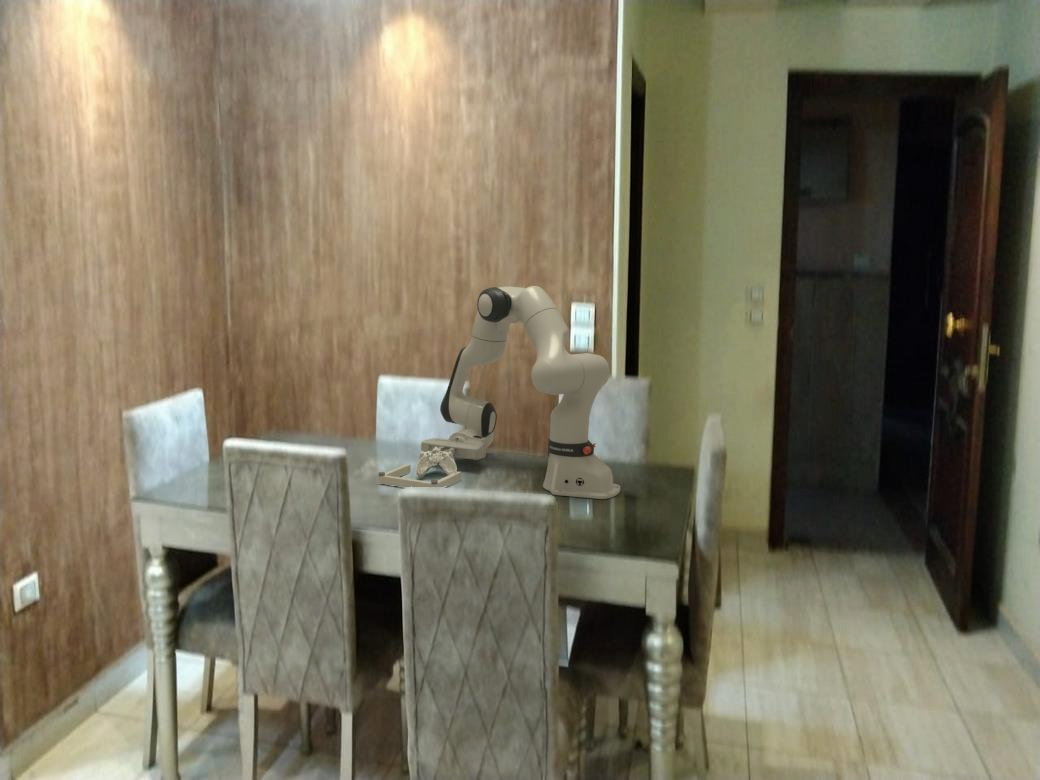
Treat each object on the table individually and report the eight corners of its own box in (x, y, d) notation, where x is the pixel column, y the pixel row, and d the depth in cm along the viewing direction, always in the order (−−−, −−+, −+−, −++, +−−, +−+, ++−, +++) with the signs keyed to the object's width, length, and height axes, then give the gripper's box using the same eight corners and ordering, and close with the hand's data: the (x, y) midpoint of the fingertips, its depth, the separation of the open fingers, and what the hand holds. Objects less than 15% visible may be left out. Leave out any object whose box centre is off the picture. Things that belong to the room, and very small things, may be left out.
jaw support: (457, 460, 279) (456, 444, 271) (457, 485, 274) (456, 470, 266) (418, 460, 278) (416, 444, 270) (417, 486, 273) (415, 470, 265)
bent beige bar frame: (461, 480, 268) (461, 469, 268) (435, 493, 254) (435, 482, 254) (405, 471, 276) (405, 461, 276) (377, 484, 262) (377, 473, 262)
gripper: (433, 431, 291) (410, 439, 279) (490, 438, 283) (469, 447, 270) (433, 450, 292) (410, 459, 280) (490, 458, 284) (469, 468, 271)
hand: (440, 454), depth 275 cm, fingers closed
